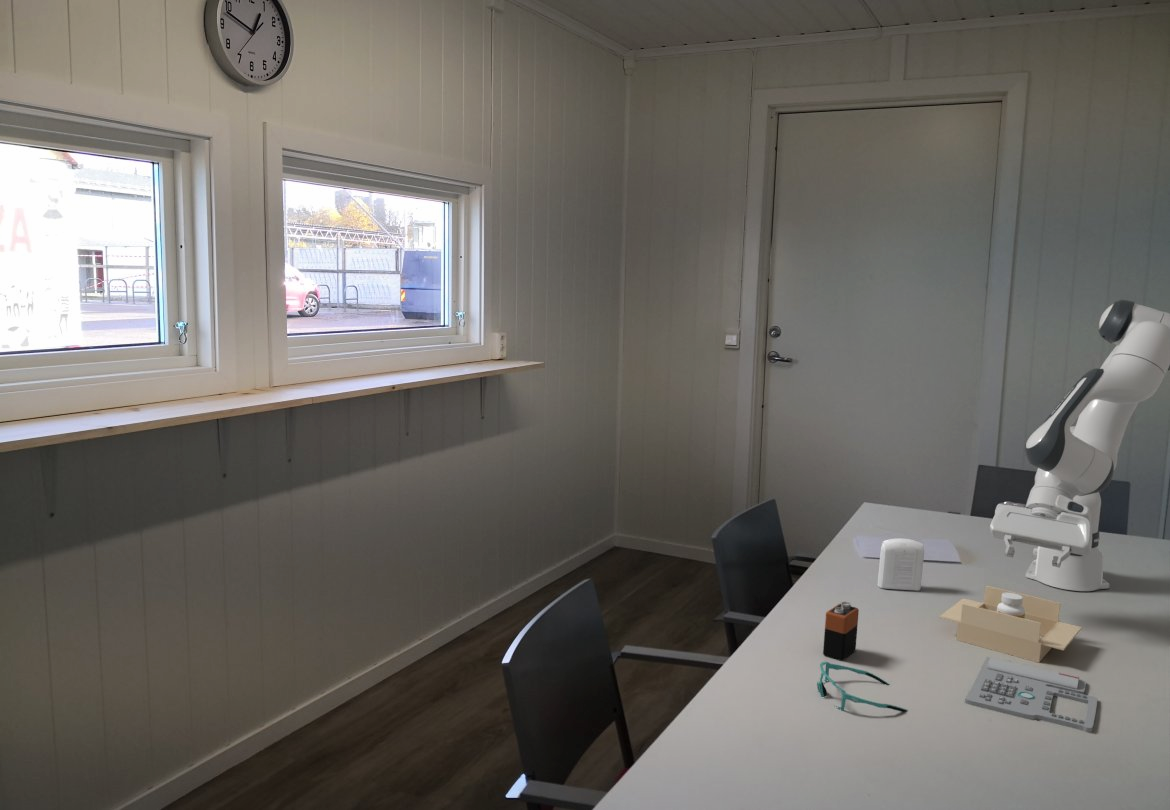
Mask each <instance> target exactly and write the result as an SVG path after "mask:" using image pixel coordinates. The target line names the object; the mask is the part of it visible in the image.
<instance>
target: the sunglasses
mask: <svg viewBox="0 0 1170 810" xmlns="http://www.w3.org/2000/svg"><path fill="white" fill-rule="evenodd" d="M824 665H825V669H824ZM819 668H820V671H821V673H820V678H819V680H818V681H817V683H816V687H817V691H818V690H819V691H818V692H819V695H820V697H824V698H825V697H826V696H827V695H828V692H827V688H826V687H825V683H824V684H823V681H825V682H826V681H827V680H828V681H829V682H830V683H831V684H832V686H834V687H835V688H836V689H837V690H839V691H840V692H841V704H840V707H839V706H837V705H835V706H836V707H838V710H840V709H841V710H840V711H844V710H845V706H846V700H847V701H849V702H850V701H851V702H853V703H856V704H857V703H859V704H866V705H868V706H869V705H870V706H873V707H877V708H880V709H881V708H882V709H890V710H893V711H897V712H902V713H904V712H908V711H909V710H908V709H906V708H903V707H900V706H896V705H893V704H888V703H880V702H875V701H872V700H867V699H864V698H861V697H858V696H855V695H852V694H849V693H847V691H846V690H844V689H843V688H842V687H840V686H838V685H837V684H836V682H835V681H834V680H833V679H832V678H831V677H830V669H831V670H835V671H839V670H846V671H850V672H854V673H856V674H858V675H862V676H863V675H864V676H867V677H870V678H872V679H874V680H876V681H878V682H879V683H880V684H883V685H885V684H886V685H885V686H889V685H891V684H890V683H889V682H887V681H885V680H884V679H883V678H881V677H879V676H878V675H875V674H873V673H872V672H869V671H867V670H863V669H859V668H854V667H849V666H846V665H841V664H836V663H830V662H829V661H824V662H823V661H822V662H821V663H820V664H819ZM824 676H825V678H824ZM823 678H824V680H823ZM828 681H827V682H828ZM827 682H826V683H827Z"/></svg>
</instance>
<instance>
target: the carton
mask: <svg viewBox="0 0 1170 810" xmlns="http://www.w3.org/2000/svg"><path fill="white" fill-rule="evenodd" d="M1003 593H1015V594H1018V595H1020V596H1022V597H1023V602H1022V605H1021V606H1022V607H1024V609H1025V619H1023V618H1019V617H1015V616H1011V615H1007V614H1003V613H999V612H997V606H998V604H999V603H1002V599H1001V598H1002V594H1003ZM983 599H984V600H983V601H981V602H980V601H979V602H978V601H976V600H972V599H967V598H961V599H960V600H959V601H957V602H956V603H955V604H953V605H952V606H951V607H950V608H948V609H947V610H946V611H944V612H943V613H942V614H940V615H939V619H943V620H945V621H951V622H954V623H957V631H956V632H957V633H956V641H958V642H963V643H967V644H970V645H973V646H977V647H981V648H984V649H988V650H992V651H995V652H999V653H1003V654H1006V655H1010V656H1013V657H1016V658H1021V659H1023V660H1024V659H1025V660H1027V661H1032V662H1035V663H1040V662H1041V661H1042V660H1043V659H1044V657H1045V656H1046V655H1047V654H1048V653H1049V651H1051V649H1052V648H1053V649H1056V650H1061V651H1065V650H1066V649H1067V647H1068V646H1069V645H1070V643H1071V642H1073V640H1074V639H1075V638H1076V636H1077V635H1078V634H1079V633H1080V631H1081V630H1082V628H1083V627H1081V626H1078V625H1073V624H1070V623H1065V622H1061V620H1060V619H1059V618H1060V608H1061V602H1058V601H1055V600H1050V599H1046V598H1042V597H1037V596H1033V595H1029V594H1024V593H1020V592H1015V591H1012V590H1006V589H1003V588H998V587H994V586H990V585H985V589H984V598H983ZM1040 637H1042V638H1041V639H1040Z"/></svg>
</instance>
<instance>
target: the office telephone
mask: <svg viewBox="0 0 1170 810" xmlns="http://www.w3.org/2000/svg"><path fill="white" fill-rule="evenodd" d="M1086 687H1087V681H1086V680H1084V679H1081V678H1080V677H1079V676H1076V675H1072V674H1068V673H1063V672H1059V671H1054V670H1050V669H1045V668H1041V667H1036V666H1032V665H1028V664H1024V663H1020V662H1019V663H1018V662H1015V661H1010V660H1005V659H1000V658H997V657H992V656H989V657H988V656H987V657H986V658H985V660H984V662H983V664H982V666H981V668H980V670H979V672H978V674H977V676H976V678H975V680H974V683H973V684H972V686H971V689H970V690H969V691H968V692H967V695H966V696H965V698H964V704H967V705H970V706H974V707H978V708H981V709H987V710H989V711H994V712H997V713H1002V714H1006V715H1010V716H1014V717H1018V718H1022V719H1026V720H1031V721H1032V720H1033V721H1035V720H1039V721H1043V722H1048V723H1051V724H1055V725H1060V726H1063V727H1067V728H1072V729H1076V730H1080V731H1083V732H1085V733H1089V734H1090V733H1092V732H1093V729H1094V724H1095V718H1096V713H1097V706H1098V697H1096V696H1094V695H1093V696H1092V695H1088V694H1085V693H1086ZM1054 697H1059V698H1061V699H1066V700H1070V701H1075V702H1079V703H1084V704H1087V710H1086V715H1085V719H1083V720H1082V719H1078V718H1075V717H1070V716H1065V715H1062V714H1056V713H1055V712H1050V711H1051V707H1052V703H1053V699H1054Z"/></svg>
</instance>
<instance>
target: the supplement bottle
mask: <svg viewBox="0 0 1170 810" xmlns="http://www.w3.org/2000/svg"><path fill="white" fill-rule="evenodd" d="M1001 599H1002V603H999V604H998V606H997V612H999V613H1003V614H1007V615H1011V616H1015V617H1019V618H1023V619H1025V609H1024V607H1022V606H1021V605H1022V602H1023V597H1022V596H1020V595H1018V594H1015V593H1003V594H1002V598H1001Z"/></svg>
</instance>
